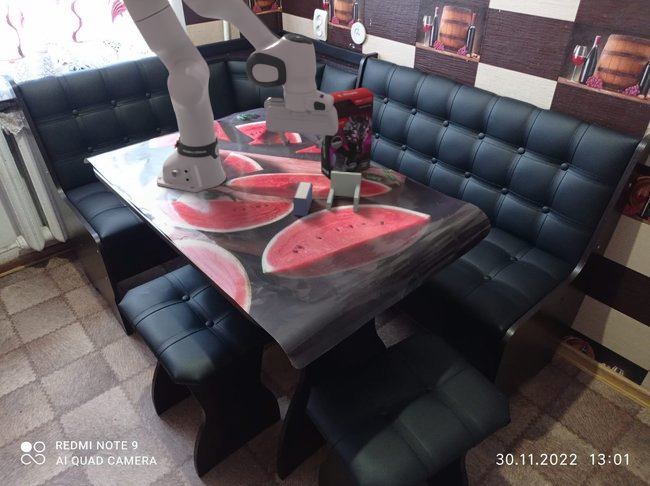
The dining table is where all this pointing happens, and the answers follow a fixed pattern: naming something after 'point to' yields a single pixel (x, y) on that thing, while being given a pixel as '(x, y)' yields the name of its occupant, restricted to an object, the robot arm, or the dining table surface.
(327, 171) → the graphics card box
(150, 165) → the dining table surface
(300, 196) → the book
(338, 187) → the bracket
